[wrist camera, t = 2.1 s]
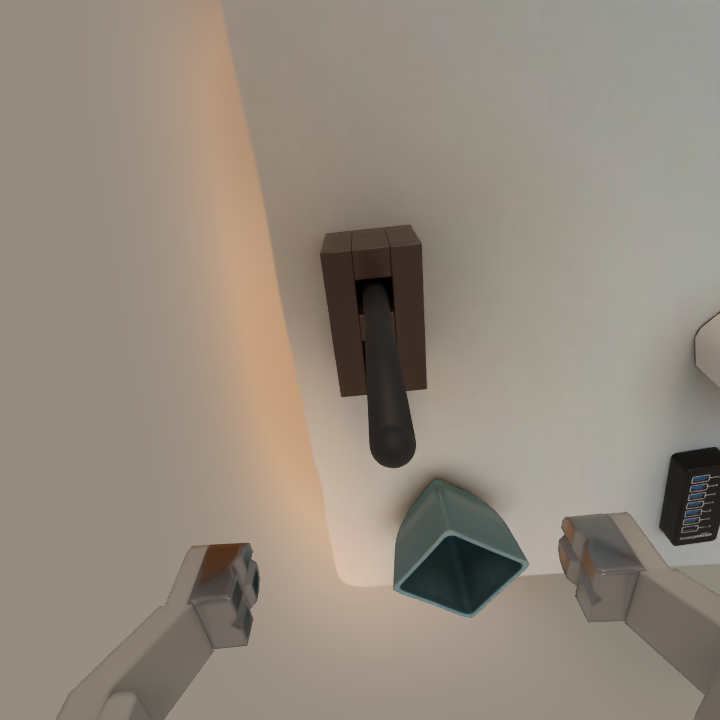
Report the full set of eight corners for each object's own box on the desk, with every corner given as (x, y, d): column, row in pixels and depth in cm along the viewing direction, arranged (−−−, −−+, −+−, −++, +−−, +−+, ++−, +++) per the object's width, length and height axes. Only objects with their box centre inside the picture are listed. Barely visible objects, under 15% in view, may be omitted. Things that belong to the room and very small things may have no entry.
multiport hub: (718, 446, 42) (737, 462, 40) (700, 523, 47) (716, 541, 45) (671, 454, 42) (687, 470, 40) (658, 529, 48) (672, 547, 45)
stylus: (357, 273, 34) (360, 464, 14) (369, 256, 33) (390, 432, 14) (373, 284, 34) (398, 485, 15) (386, 268, 33) (428, 455, 14)
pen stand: (343, 359, 37) (341, 397, 32) (325, 233, 32) (319, 253, 27) (416, 352, 37) (427, 389, 32) (410, 224, 32) (421, 242, 27)
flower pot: (430, 456, 42) (447, 530, 34) (501, 488, 44) (532, 565, 36) (384, 512, 46) (390, 591, 38) (452, 539, 48) (471, 619, 40)
